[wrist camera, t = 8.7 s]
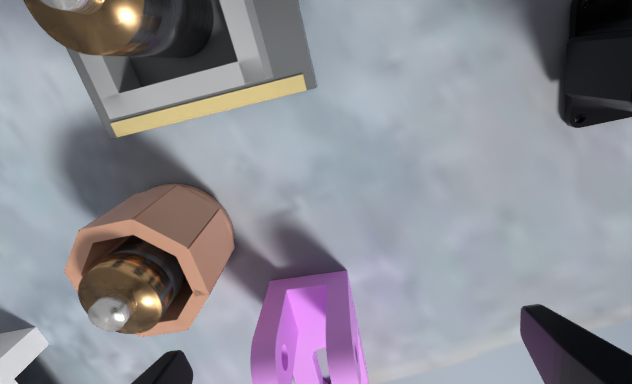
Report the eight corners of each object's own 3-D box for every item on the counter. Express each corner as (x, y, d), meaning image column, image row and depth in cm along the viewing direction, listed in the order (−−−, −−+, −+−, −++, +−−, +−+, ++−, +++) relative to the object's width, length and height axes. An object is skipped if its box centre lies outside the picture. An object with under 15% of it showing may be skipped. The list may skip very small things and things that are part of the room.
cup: (213, 173, 20) (171, 210, 15) (248, 265, 22) (223, 324, 17) (113, 195, 20) (42, 237, 15) (157, 281, 23) (109, 341, 18)
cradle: (264, -149, 14) (245, -207, 11) (317, 86, 17) (314, 90, 14) (30, -65, 15) (-42, -96, 12) (123, 134, 19) (84, 147, 16)
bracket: (270, 279, 23) (244, 365, 16) (346, 268, 22) (352, 354, 15) (307, 400, 27) (299, 504, 21) (371, 395, 27) (384, 500, 20)
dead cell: (194, 204, 20) (125, 274, 13) (216, 258, 21) (164, 344, 14) (136, 216, 20) (43, 289, 14) (162, 267, 21) (88, 355, 15)
